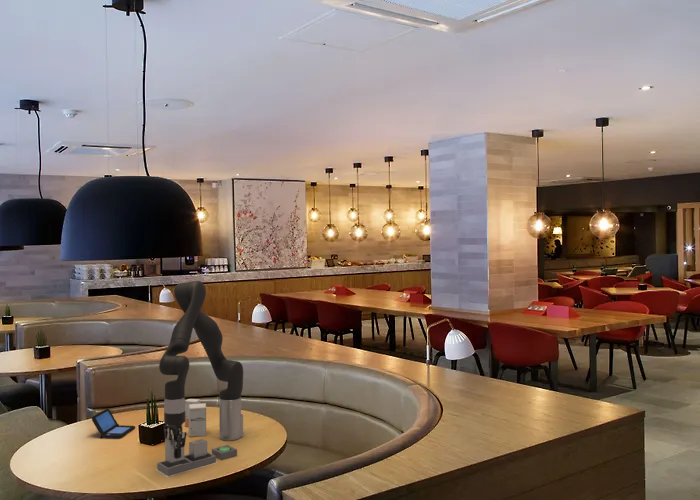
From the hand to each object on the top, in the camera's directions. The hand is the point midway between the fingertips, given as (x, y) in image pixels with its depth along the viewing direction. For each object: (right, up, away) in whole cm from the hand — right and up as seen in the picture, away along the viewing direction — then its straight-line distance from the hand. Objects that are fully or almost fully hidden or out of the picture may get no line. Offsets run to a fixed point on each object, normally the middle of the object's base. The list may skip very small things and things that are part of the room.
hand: (175, 456), depth 224 cm
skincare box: (-8, -5, +55) cm, 56 cm away
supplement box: (-3, -5, +44) cm, 44 cm away
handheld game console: (-40, -6, +46) cm, 61 cm away
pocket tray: (+3, -6, +3) cm, 7 cm away
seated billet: (+7, -5, +6) cm, 11 cm away
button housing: (+15, -6, +14) cm, 21 cm away
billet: (0, -1, 0) cm, 1 cm away
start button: (+15, -4, +14) cm, 21 cm away
